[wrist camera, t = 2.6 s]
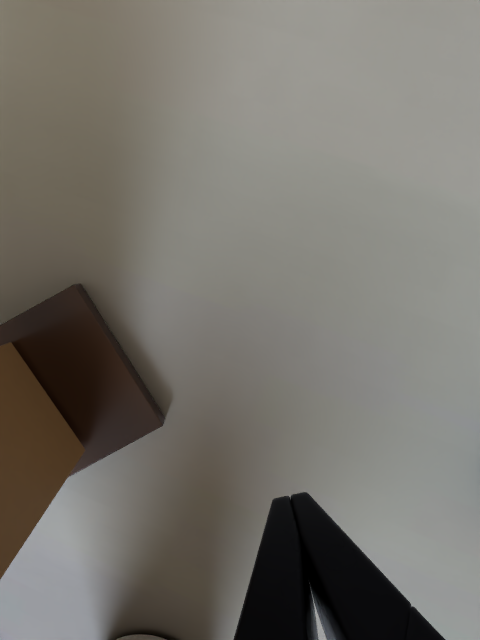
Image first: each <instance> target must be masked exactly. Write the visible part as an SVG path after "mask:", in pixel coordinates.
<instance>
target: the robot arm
mask: <svg viewBox="0 0 480 640" xmlns="http://www.w3.org/2000/svg"><path fill="white" fill-rule="evenodd" d="M309 583H310V584H309ZM310 587H311V588H310ZM311 591H312V593H311ZM312 595H313V598H312ZM313 599H314V603H315V606H316V609H317V612H318V615H319V618H320V621H321V624H322V627H323V630H324V633H325V635H326V638H327V640H445V639H444V638H443V637H442V636H441V635H440V634H439V633H438V632H437V631H436V630H435V629H434V628H433V627H432V625H431V624H430V623H429V622H428V621H427V620H426V619H425V618H424V617H423V616H422V615H421V614H420V613H419V612H418V611H417V609H416V608H415V607H411V604H410V602H409V601H408V600H407V599H406V598H405V597H404V596H403V595H402V594H401V593H400V591H399V590H398V589H397V588H396V587H395V586H394V585H393V584H392V583H391V582H390V581H389V580H388V579H387V578H386V576H385V575H384V574H383V573H382V572H381V571H380V570H379V569H378V568H377V567H376V566H375V565H374V564H373V563H372V561H371V560H370V559H369V558H368V557H367V556H366V555H365V554H364V553H363V552H362V551H361V550H360V549H359V547H358V546H357V545H356V544H355V543H354V542H353V541H352V540H351V539H350V538H349V537H348V536H347V535H346V534H345V532H344V531H343V530H342V529H341V528H340V527H339V526H338V525H337V524H336V523H335V522H334V521H333V520H332V519H331V517H330V516H329V515H328V514H327V513H326V512H325V511H324V510H323V509H322V508H321V507H320V506H319V505H318V504H317V502H316V501H315V500H314V499H313V498H312V497H311V496H310V495H309V494H308V493H306V492H303V493H298V494H293V495H291V499H290V497H289V496H284V497H279V498H275V499H273V501H272V504H271V507H270V511H269V515H268V518H267V522H266V525H265V529H264V533H263V536H262V540H261V543H260V547H259V550H258V554H257V558H256V561H255V565H254V568H253V572H252V575H251V579H250V583H249V586H248V590H247V593H246V597H245V601H244V604H243V608H242V611H241V615H240V618H239V622H238V626H237V629H236V633H235V636H234V640H318V633H317V625H316V617H315V610H314V603H313Z"/></svg>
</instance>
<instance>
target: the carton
mask: <svg viewBox="0 0 480 640" xmlns="http://www.w3.org/2000/svg"><path fill="white" fill-rule="evenodd" d="M84 452H85V448H84V447H83V445H82V444H81V443H80V441H79V440H78V438H77V437H76V435H75V434H74V432H73V431H72V430H71V428H70V427H69V425H68V424H67V422H66V421H65V419H64V418H63V417H62V415H61V414H60V412H59V411H58V409H57V408H56V406H55V405H54V404H53V402H52V401H51V399H50V398H49V396H48V395H47V393H46V392H45V391H44V389H43V388H42V386H41V385H40V383H39V382H38V380H37V379H36V378H35V376H34V375H33V373H32V372H31V370H30V369H29V367H28V366H27V365H26V363H25V362H24V360H23V359H22V357H21V356H20V354H19V353H18V352H17V350H16V349H15V347H14V346H13V344H12V343H11V342H9V343H7V344H4V345H2V346H0V579H1V578H2V576H3V575H4V573H5V571H6V570H7V568H8V567H9V565H10V564H11V562H12V561H13V559H14V558H15V556H16V555H17V553H18V552H19V550H20V549H21V547H22V546H23V544H24V543H25V541H26V540H27V538H28V537H29V535H30V534H31V532H32V531H33V529H34V528H35V526H36V525H37V523H38V521H39V520H40V518H41V517H42V515H43V514H44V512H45V511H46V509H47V508H48V506H49V505H50V503H51V502H52V500H53V499H54V497H55V496H56V494H57V493H58V491H59V490H60V488H61V487H62V485H63V484H64V482H65V481H66V479H67V478H68V476H69V475H70V473H71V472H72V470H73V468H74V467H75V465H76V464H77V462H78V461H79V459H80V458H81V456H82V455H83V453H84Z"/></svg>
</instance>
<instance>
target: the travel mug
mask: <svg viewBox="0 0 480 640" xmlns="http://www.w3.org/2000/svg"><path fill="white" fill-rule="evenodd" d="M116 640H166V639H163V638H161V637H158V636H153V635H129V636H124V637H121V638H119V639H116Z"/></svg>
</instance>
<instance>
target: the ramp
mask: <svg viewBox="0 0 480 640" xmlns="http://www.w3.org/2000/svg"><path fill="white" fill-rule="evenodd" d="M9 342H11V343H12V344H13V346H14V347H15V349H16V350H17V352H18V353H19V354H20V356H21V357H22V359H23V360H24V362H25V363H26V365H27V366H28V367H29V369H30V370H31V372H32V373H33V375H34V376H35V378H36V379H37V380H38V382H39V383H40V385H41V386H42V388H43V389H44V391H45V392H46V393H47V395H48V396H49V398H50V399H51V401H52V402H53V404H54V405H55V406H56V408H57V409H58V411H59V412H60V414H61V415H62V417H63V418H64V419H65V421H66V422H67V424H68V425H69V427H70V428H71V430H72V431H73V432H74V434H75V435H76V437H77V438H78V440H79V441H80V443H81V444H82V445H83V447H84V448H85V452H84V453H83V455H82V456H81V458H80V459H79V461H78V462H77V464H76V465H75V467H74V468H73V470H72V472H71V473H70V475H69V476H71V475H73V474H75V473H77V472H79V471H80V470H82V469H84V468H86V467H88V466H90V465H91V464H93V463H95V462H97V461H99V460H101V459H102V458H104V457H106V456H108V455H110V454H112V453H113V452H115V451H117V450H119V449H121V448H123V447H124V446H126V445H128V444H130V443H132V442H134V441H135V440H137V439H139V438H141V437H143V436H145V435H146V434H148V433H150V432H152V431H154V430H156V429H157V428H159V427H161V426H163V424H164V420H165V417H164V415H163V414H162V412H161V411H160V409H159V407H158V406H157V404H156V403H155V401H154V399H153V398H152V396H151V395H150V393H149V392H148V390H147V388H146V387H145V385H144V384H143V382H142V380H141V379H140V377H139V376H138V374H137V372H136V371H135V369H134V368H133V366H132V364H131V363H130V361H129V360H128V358H127V357H126V355H125V353H124V352H123V350H122V349H121V347H120V345H119V344H118V342H117V341H116V339H115V337H114V336H113V334H112V333H111V331H110V330H109V328H108V326H107V325H106V323H105V322H104V320H103V318H102V317H101V315H100V314H99V312H98V310H97V309H96V307H95V306H94V304H93V303H92V301H91V299H90V298H89V296H88V295H87V293H86V291H85V290H84V288H83V287H82V285H81V284H76V285H72V286H71V287H69V288H67V289H65V290H63V291H62V292H60V293H58V294H56V295H54V296H53V297H51V298H49V299H47V300H45V301H43V302H42V303H40V304H38V305H36V306H34V307H33V308H31V309H29V310H27V311H25V312H24V313H22V314H20V315H18V316H16V317H14V318H13V319H11V320H9V321H7V322H5V323H4V324H2V325H0V346H2V345H4V344H7V343H9ZM69 476H68V477H69Z"/></svg>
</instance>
